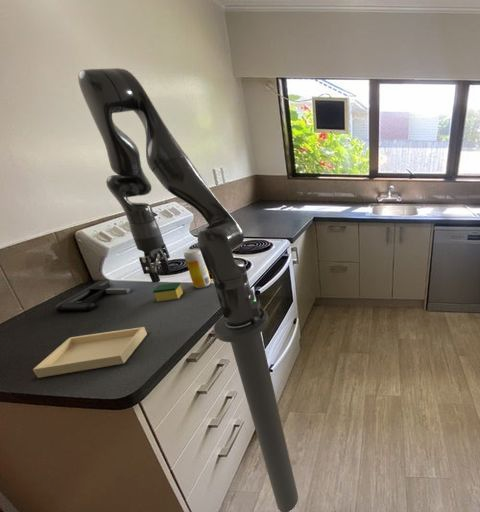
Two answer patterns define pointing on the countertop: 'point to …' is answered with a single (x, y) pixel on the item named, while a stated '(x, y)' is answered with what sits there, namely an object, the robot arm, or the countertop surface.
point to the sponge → (168, 291)
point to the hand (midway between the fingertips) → (161, 276)
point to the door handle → (87, 305)
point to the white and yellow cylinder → (197, 268)
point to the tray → (91, 352)
